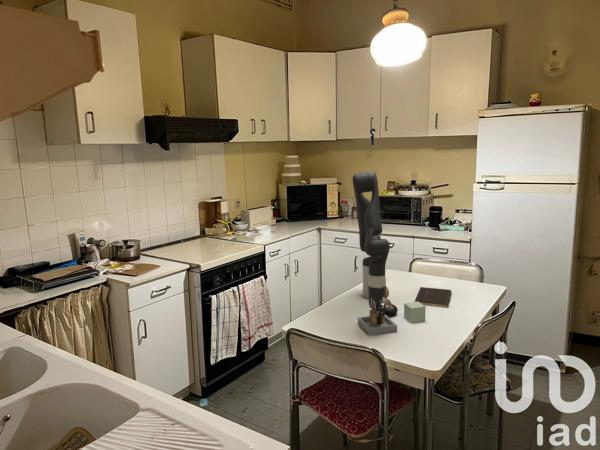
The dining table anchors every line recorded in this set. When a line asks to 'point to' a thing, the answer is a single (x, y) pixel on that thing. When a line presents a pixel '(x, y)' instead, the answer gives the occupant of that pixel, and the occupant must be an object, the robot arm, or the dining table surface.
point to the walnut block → (374, 317)
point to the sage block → (414, 312)
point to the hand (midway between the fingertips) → (376, 321)
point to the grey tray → (377, 326)
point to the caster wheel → (389, 308)
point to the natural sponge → (386, 293)
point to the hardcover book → (433, 297)
